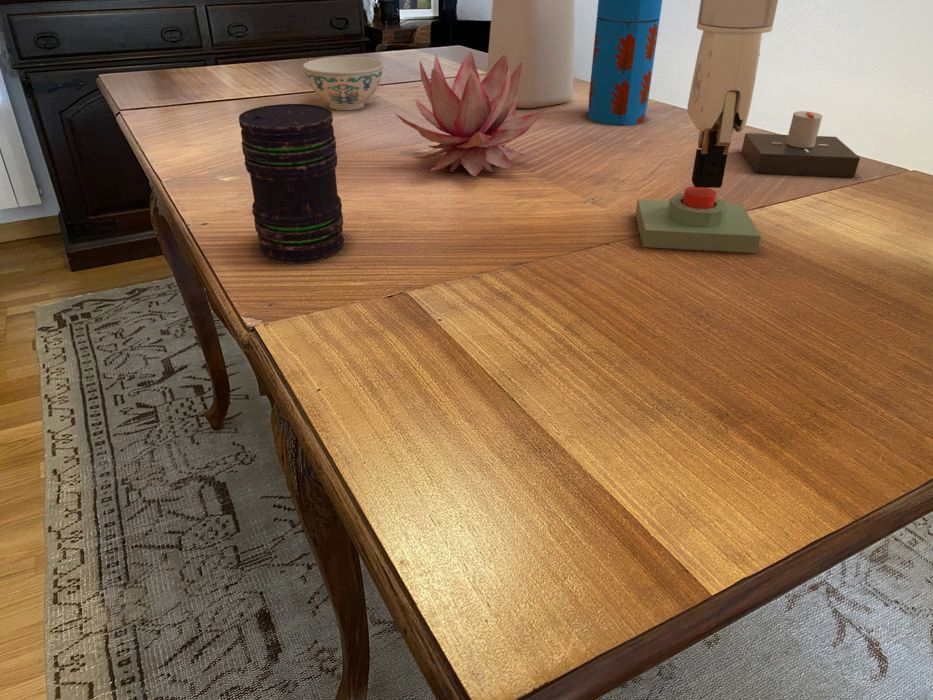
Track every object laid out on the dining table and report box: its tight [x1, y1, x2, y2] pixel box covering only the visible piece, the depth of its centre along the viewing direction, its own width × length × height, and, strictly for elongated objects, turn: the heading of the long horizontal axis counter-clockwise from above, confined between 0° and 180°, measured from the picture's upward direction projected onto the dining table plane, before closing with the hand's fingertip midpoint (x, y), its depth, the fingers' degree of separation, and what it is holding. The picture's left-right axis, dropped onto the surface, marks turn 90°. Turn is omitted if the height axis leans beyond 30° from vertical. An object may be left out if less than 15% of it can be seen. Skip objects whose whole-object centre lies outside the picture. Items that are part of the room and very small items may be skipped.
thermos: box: [587, 0, 663, 126], centre depth 125 cm, size 11×11×25 cm
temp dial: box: [786, 110, 823, 148], centre depth 107 cm, size 4×4×5 cm
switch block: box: [635, 192, 762, 254], centre depth 85 cm, size 13×10×4 cm
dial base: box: [741, 132, 861, 178], centre depth 109 cm, size 14×11×3 cm
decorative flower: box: [394, 51, 547, 177], centre depth 103 cm, size 21×21×15 cm
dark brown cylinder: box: [238, 103, 345, 265], centre depth 78 cm, size 10×10×15 cm
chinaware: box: [302, 56, 384, 111], centre depth 136 cm, size 15×15×8 cm
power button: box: [683, 185, 717, 209], centre depth 84 cm, size 4×4×2 cm
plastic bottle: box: [485, 0, 576, 109], centre depth 136 cm, size 15×15×28 cm
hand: (706, 184), depth 83 cm, fingers closed
